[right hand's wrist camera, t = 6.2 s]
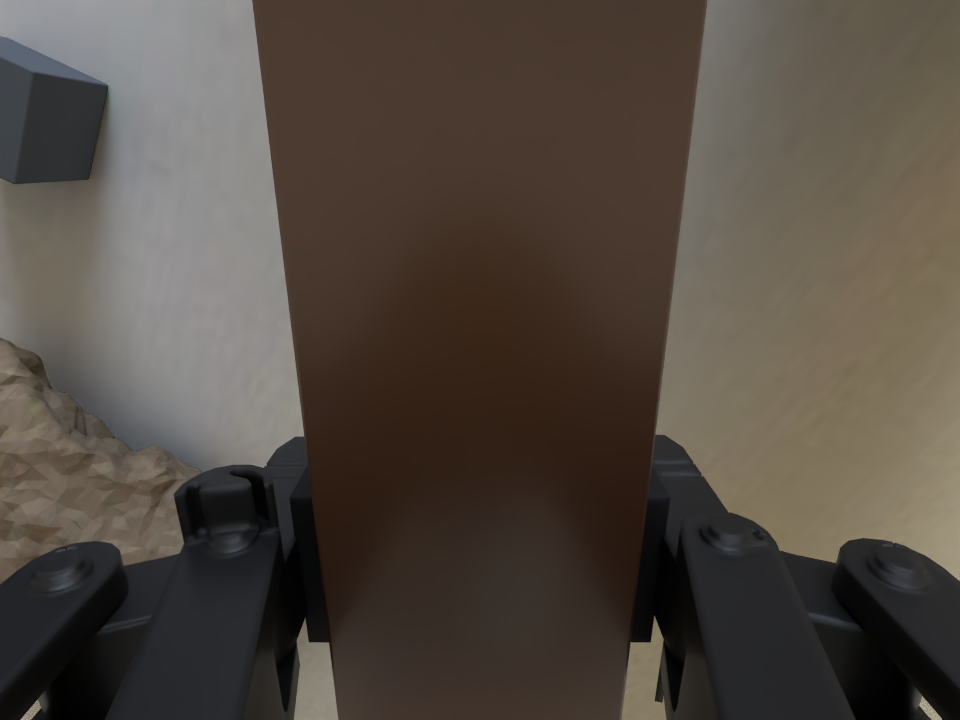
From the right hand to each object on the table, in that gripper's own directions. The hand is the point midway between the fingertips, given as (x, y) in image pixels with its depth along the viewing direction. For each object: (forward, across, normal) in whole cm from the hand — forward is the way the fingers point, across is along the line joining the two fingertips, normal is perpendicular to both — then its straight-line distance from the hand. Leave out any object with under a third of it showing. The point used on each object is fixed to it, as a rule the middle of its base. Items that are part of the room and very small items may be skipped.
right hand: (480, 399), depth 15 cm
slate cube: (+15, +20, -8) cm, 26 cm away
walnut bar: (0, 0, -9) cm, 9 cm away
